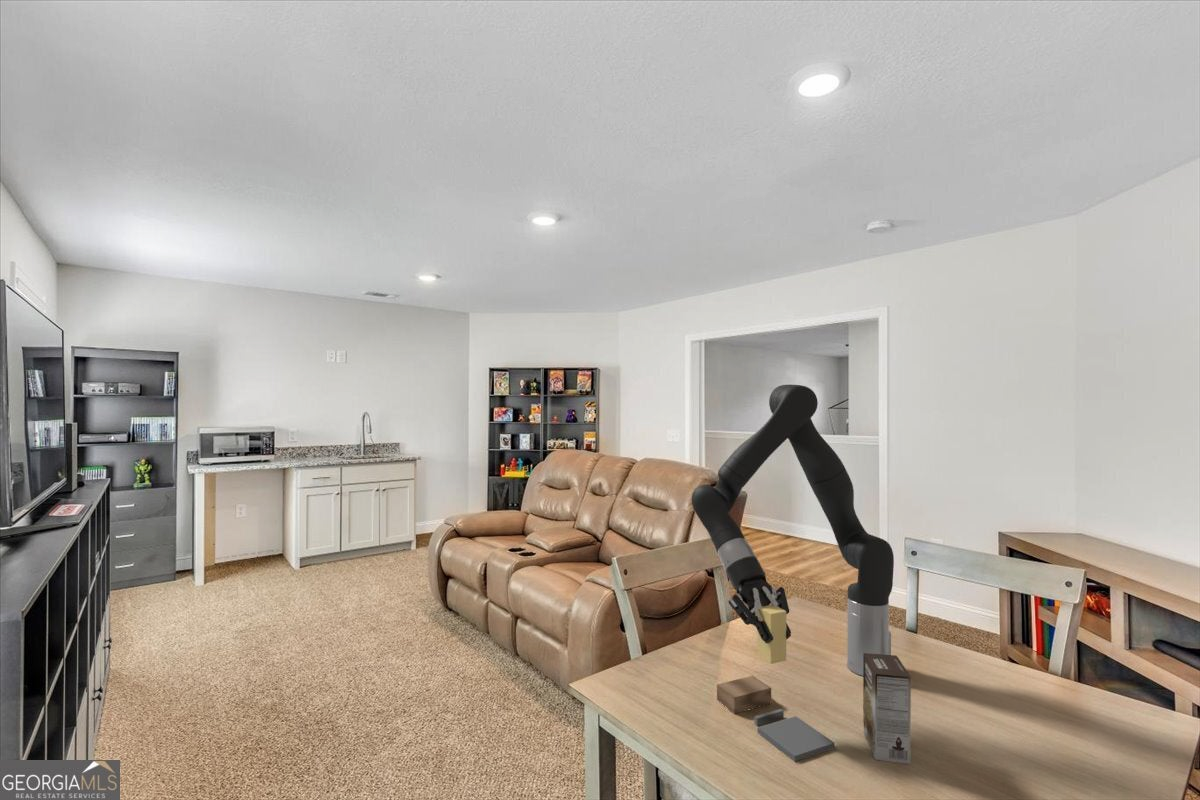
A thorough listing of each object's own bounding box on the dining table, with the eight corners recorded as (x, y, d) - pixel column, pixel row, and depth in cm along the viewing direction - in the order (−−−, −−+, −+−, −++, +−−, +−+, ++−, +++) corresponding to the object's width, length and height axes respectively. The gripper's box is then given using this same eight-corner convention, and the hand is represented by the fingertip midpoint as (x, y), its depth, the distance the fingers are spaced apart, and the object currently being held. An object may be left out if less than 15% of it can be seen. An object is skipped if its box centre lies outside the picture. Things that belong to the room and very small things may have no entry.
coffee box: (861, 732, 112) (861, 651, 112) (896, 736, 111) (896, 654, 111) (874, 760, 103) (874, 672, 103) (912, 765, 102) (912, 676, 102)
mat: (795, 720, 116) (795, 716, 116) (834, 747, 107) (834, 742, 107) (757, 732, 112) (757, 727, 112) (794, 761, 103) (794, 756, 103)
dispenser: (752, 691, 128) (752, 675, 128) (789, 716, 118) (789, 699, 118) (716, 700, 124) (716, 684, 124) (751, 727, 113) (751, 710, 113)
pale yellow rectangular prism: (772, 652, 118) (772, 604, 118) (786, 660, 114) (786, 611, 114) (757, 655, 116) (757, 607, 116) (770, 664, 113) (770, 614, 113)
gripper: (721, 558, 119) (759, 637, 108) (774, 551, 125) (815, 625, 114) (707, 576, 124) (742, 654, 113) (758, 569, 130) (796, 641, 119)
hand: (778, 639), depth 114 cm, fingers closed on pale yellow rectangular prism, 4 cm apart
